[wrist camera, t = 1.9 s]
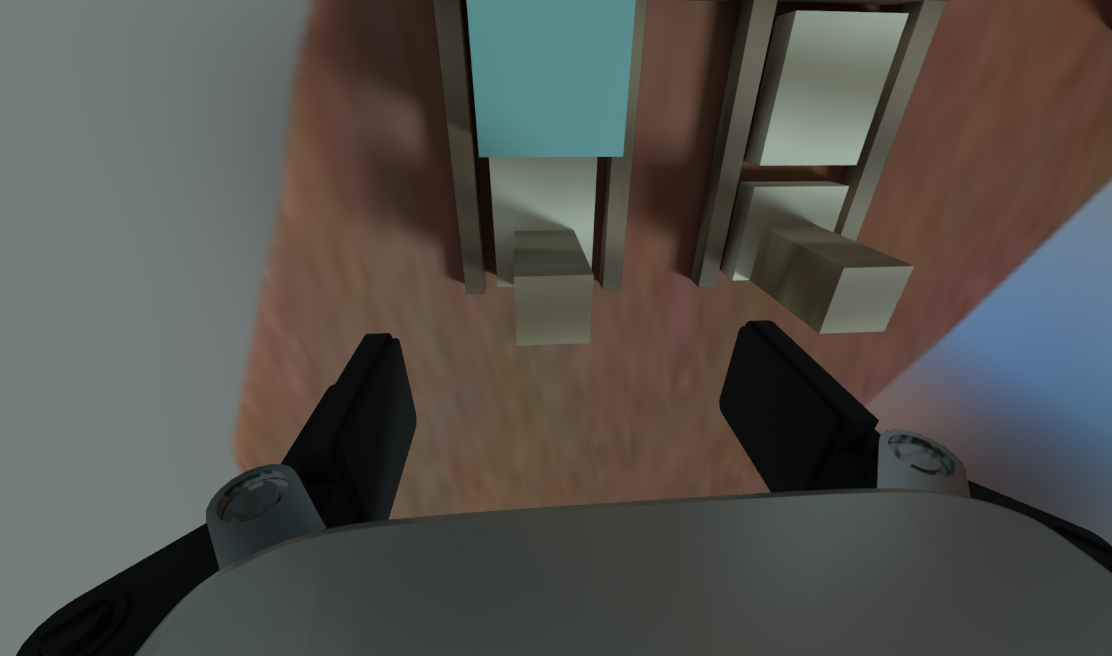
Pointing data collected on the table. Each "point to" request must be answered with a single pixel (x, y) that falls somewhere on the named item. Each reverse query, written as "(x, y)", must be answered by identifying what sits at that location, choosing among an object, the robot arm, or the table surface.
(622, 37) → the teal block
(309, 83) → the table surface
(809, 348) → the table surface
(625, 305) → the table surface
